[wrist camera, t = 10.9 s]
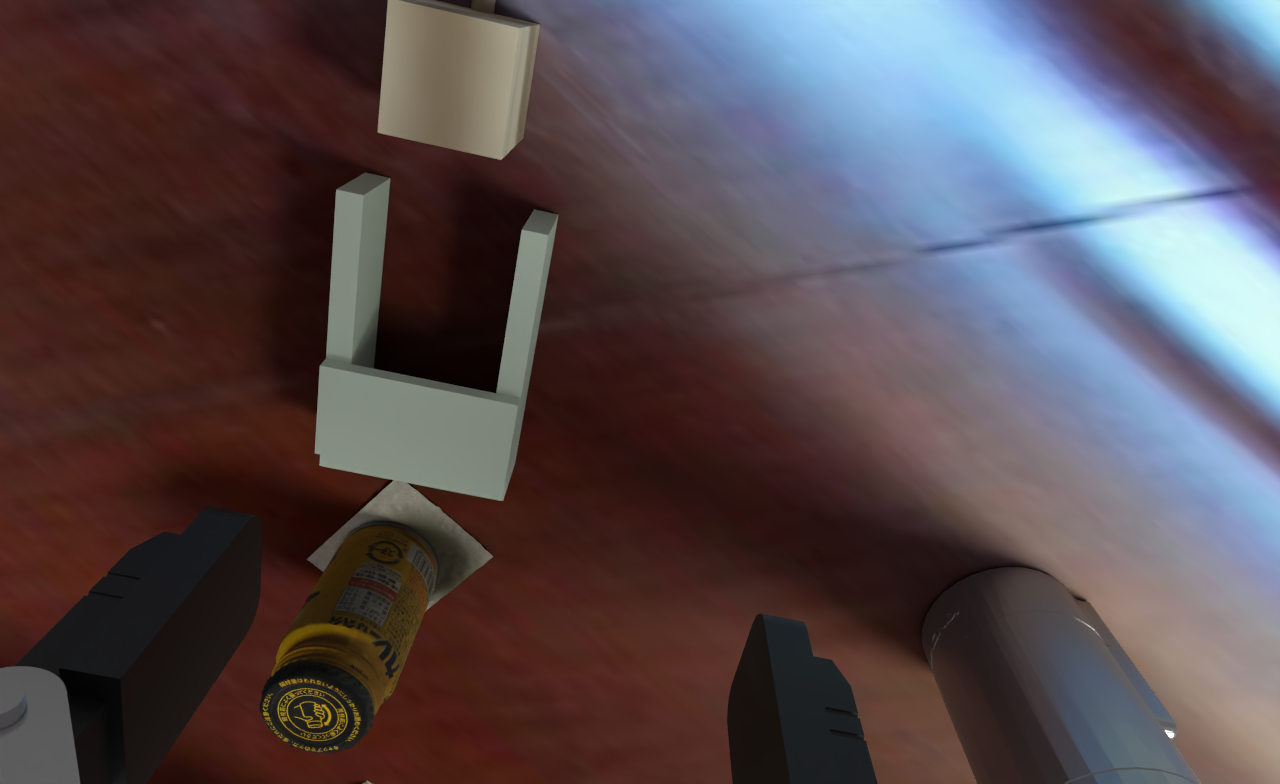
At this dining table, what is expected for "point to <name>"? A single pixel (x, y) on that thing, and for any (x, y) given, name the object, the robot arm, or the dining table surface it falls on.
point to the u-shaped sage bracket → (410, 406)
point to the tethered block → (456, 75)
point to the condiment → (363, 618)
